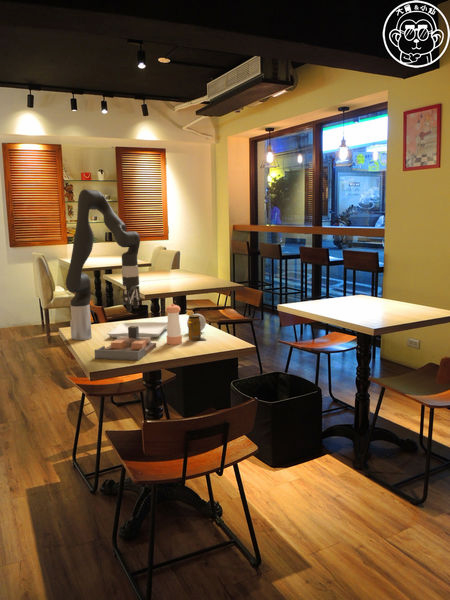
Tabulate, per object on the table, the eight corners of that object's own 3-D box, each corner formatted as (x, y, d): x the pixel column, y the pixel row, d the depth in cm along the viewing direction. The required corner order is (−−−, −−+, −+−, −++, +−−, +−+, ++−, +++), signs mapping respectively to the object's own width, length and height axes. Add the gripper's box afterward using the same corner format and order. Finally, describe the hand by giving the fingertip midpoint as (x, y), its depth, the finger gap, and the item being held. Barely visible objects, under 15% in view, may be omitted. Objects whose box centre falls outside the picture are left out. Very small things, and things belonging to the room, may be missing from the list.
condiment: (186, 338, 262) (186, 315, 260) (203, 337, 264) (202, 313, 262) (189, 341, 255) (188, 317, 253) (206, 340, 257) (205, 316, 255)
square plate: (171, 328, 287) (170, 321, 287) (160, 340, 260) (159, 332, 260) (123, 328, 290) (122, 321, 289) (107, 340, 263) (106, 332, 262)
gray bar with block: (116, 343, 246) (115, 327, 245) (119, 342, 249) (118, 325, 247) (149, 344, 242) (148, 328, 241) (151, 343, 245) (150, 326, 244)
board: (103, 353, 237) (103, 349, 237) (116, 345, 250) (116, 341, 250) (145, 355, 233) (145, 350, 232) (156, 347, 246) (156, 342, 246)
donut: (188, 333, 272) (187, 314, 270) (186, 332, 275) (186, 313, 273) (206, 332, 274) (206, 313, 273) (205, 330, 278) (204, 312, 276)
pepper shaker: (181, 344, 250) (179, 304, 247) (166, 344, 250) (164, 305, 247) (182, 340, 257) (180, 302, 254) (167, 341, 257) (165, 302, 254)
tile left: (111, 347, 239) (110, 342, 238) (115, 345, 243) (115, 339, 243) (121, 348, 238) (121, 342, 237) (125, 345, 242) (125, 340, 242)
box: (95, 358, 228) (94, 349, 228) (103, 353, 237) (103, 345, 236) (138, 360, 224) (137, 351, 223) (145, 355, 232) (145, 346, 232)
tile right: (131, 348, 236) (131, 343, 236) (135, 345, 241) (135, 340, 241) (142, 349, 235) (141, 343, 235) (146, 346, 240) (145, 340, 240)
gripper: (128, 273, 248) (130, 307, 251) (116, 277, 234) (118, 312, 237) (143, 273, 246) (145, 307, 249) (132, 277, 233) (134, 313, 235)
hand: (132, 309), depth 243 cm, fingers open, 8 cm apart
